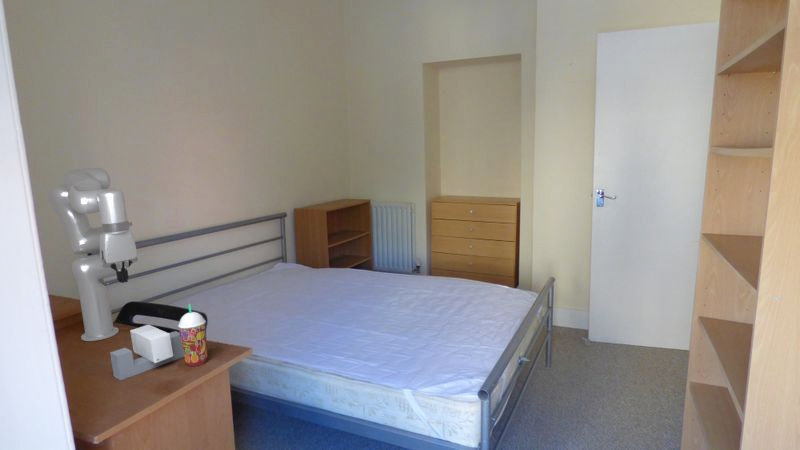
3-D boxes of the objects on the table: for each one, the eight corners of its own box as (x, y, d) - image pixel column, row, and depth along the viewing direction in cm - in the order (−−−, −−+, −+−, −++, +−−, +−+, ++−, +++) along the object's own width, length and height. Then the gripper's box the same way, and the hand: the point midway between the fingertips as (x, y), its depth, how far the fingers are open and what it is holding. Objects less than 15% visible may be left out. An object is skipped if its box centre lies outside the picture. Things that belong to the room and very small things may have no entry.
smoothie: (177, 365, 165) (169, 307, 161) (198, 355, 172) (191, 299, 168) (195, 370, 161) (187, 309, 157) (215, 359, 168) (208, 301, 165)
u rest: (113, 376, 159) (110, 352, 158) (178, 353, 175) (175, 331, 174) (120, 380, 156) (116, 356, 155) (185, 356, 172) (182, 333, 171)
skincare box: (151, 346, 174) (174, 357, 165) (132, 353, 169) (154, 365, 160) (148, 323, 173) (171, 333, 163) (128, 329, 168) (150, 340, 158)
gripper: (133, 223, 174) (141, 275, 177) (85, 230, 163) (94, 285, 166) (143, 225, 169) (151, 278, 172) (95, 232, 158) (103, 289, 161)
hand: (123, 281), depth 169 cm, fingers closed
